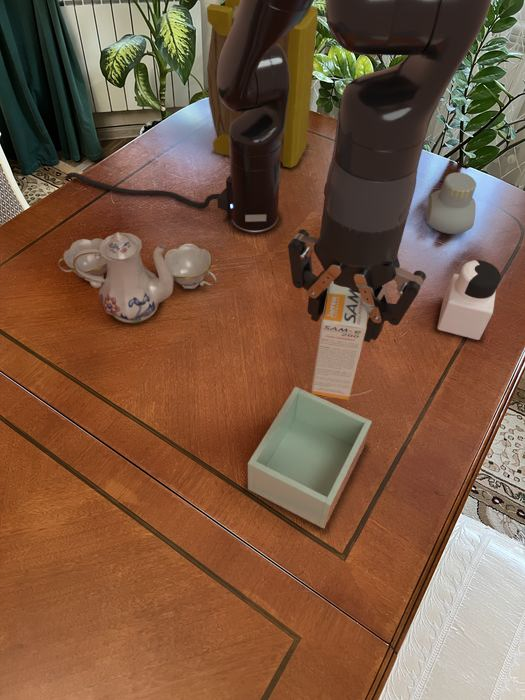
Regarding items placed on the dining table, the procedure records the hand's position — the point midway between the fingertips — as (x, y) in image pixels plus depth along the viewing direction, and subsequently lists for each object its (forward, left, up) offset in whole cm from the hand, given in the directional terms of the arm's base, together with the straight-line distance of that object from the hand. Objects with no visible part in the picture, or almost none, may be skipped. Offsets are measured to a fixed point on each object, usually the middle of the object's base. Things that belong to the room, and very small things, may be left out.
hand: (342, 325), depth 64 cm
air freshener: (+1, +57, -26) cm, 62 cm away
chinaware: (-41, +11, -26) cm, 49 cm away
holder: (0, -5, -26) cm, 26 cm away
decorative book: (-44, +61, -26) cm, 79 cm away
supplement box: (0, 0, -9) cm, 9 cm away
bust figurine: (+11, +33, -26) cm, 43 cm away
